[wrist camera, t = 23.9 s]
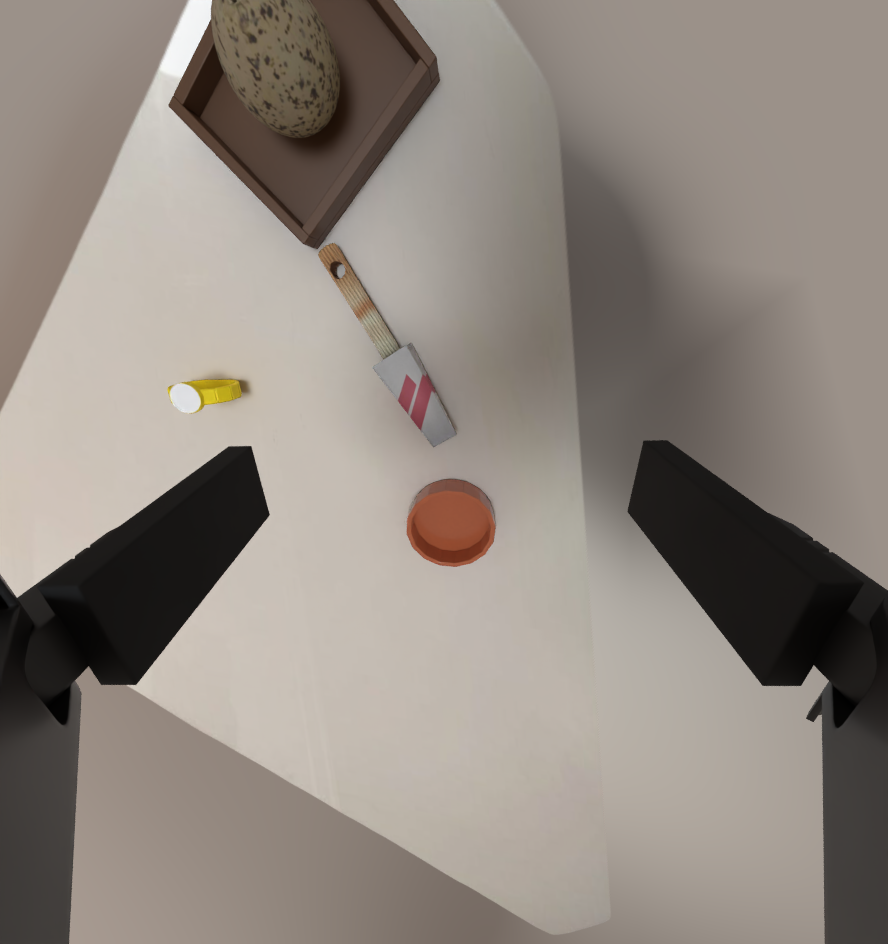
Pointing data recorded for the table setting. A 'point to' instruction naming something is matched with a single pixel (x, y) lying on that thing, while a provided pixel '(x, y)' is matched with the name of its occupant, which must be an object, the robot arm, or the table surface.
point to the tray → (344, 137)
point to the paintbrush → (393, 356)
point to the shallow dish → (451, 523)
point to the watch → (202, 393)
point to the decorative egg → (278, 62)
